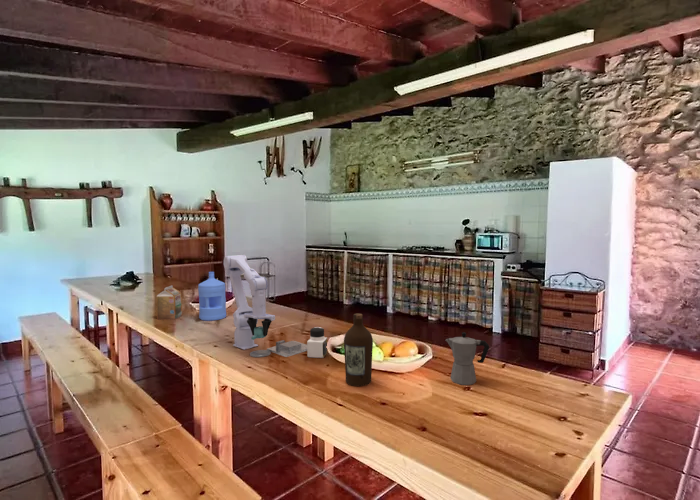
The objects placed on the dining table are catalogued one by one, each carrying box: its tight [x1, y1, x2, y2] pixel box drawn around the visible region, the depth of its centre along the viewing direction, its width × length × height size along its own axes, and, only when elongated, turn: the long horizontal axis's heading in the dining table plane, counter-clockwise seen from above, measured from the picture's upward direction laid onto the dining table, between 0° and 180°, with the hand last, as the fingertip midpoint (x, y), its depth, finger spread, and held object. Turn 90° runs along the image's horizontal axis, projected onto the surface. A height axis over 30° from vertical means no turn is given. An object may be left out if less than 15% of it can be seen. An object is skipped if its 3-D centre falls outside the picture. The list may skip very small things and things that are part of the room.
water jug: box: [197, 271, 227, 322], centre depth 250 cm, size 16×16×28 cm
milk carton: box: [156, 284, 183, 321], centre depth 252 cm, size 11×11×19 cm
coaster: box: [249, 349, 272, 358], centre depth 184 cm, size 9×9×1 cm
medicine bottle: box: [306, 326, 328, 359], centre depth 181 cm, size 7×7×12 cm
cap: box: [251, 325, 267, 341], centre depth 181 cm, size 5×8×4 cm, turn 158°
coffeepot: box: [445, 331, 490, 386], centre depth 151 cm, size 15×9×18 cm, turn 68°
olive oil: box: [343, 313, 374, 387], centre depth 151 cm, size 11×11×25 cm
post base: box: [266, 339, 307, 358], centre depth 189 cm, size 14×16×5 cm
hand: (259, 335), depth 183 cm, fingers closed on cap, 5 cm apart
